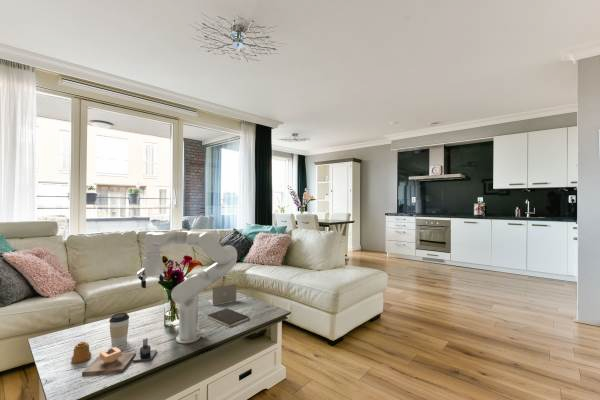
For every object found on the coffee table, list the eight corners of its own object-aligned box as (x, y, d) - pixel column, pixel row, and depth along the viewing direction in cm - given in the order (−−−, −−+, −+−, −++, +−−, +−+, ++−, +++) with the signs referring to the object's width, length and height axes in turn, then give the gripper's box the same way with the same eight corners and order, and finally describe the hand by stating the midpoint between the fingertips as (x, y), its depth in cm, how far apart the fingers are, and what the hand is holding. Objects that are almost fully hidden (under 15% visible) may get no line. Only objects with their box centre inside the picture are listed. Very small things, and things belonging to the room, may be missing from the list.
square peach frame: (115, 352, 135) (115, 346, 135) (121, 356, 132) (121, 351, 132) (99, 358, 130) (99, 352, 130) (105, 362, 126) (105, 357, 126)
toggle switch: (135, 355, 139) (135, 340, 139) (122, 372, 125) (122, 355, 125) (99, 358, 137) (99, 342, 137) (81, 375, 123) (82, 358, 123)
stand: (156, 352, 142) (157, 334, 142) (151, 360, 134) (151, 342, 134) (139, 353, 141) (139, 335, 141) (132, 362, 133) (132, 343, 133)
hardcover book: (228, 328, 171) (228, 324, 171) (206, 318, 185) (206, 314, 185) (249, 319, 183) (249, 316, 183) (227, 311, 198) (227, 307, 198)
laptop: (230, 296, 228) (230, 280, 228) (236, 301, 217) (236, 283, 217) (207, 301, 217) (207, 283, 218) (212, 306, 207) (212, 287, 207)
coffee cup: (106, 348, 146) (106, 318, 146) (112, 339, 155) (112, 312, 155) (126, 345, 149) (126, 316, 149) (131, 337, 157) (131, 310, 157)
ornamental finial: (67, 362, 133) (84, 354, 140) (77, 365, 131) (94, 357, 138) (67, 344, 134) (84, 337, 140) (78, 347, 131) (95, 340, 138)
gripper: (164, 251, 168) (164, 281, 168) (133, 256, 154) (133, 288, 154) (171, 253, 164) (171, 283, 164) (140, 257, 150) (139, 290, 150)
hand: (152, 285), depth 159 cm, fingers open, 9 cm apart
